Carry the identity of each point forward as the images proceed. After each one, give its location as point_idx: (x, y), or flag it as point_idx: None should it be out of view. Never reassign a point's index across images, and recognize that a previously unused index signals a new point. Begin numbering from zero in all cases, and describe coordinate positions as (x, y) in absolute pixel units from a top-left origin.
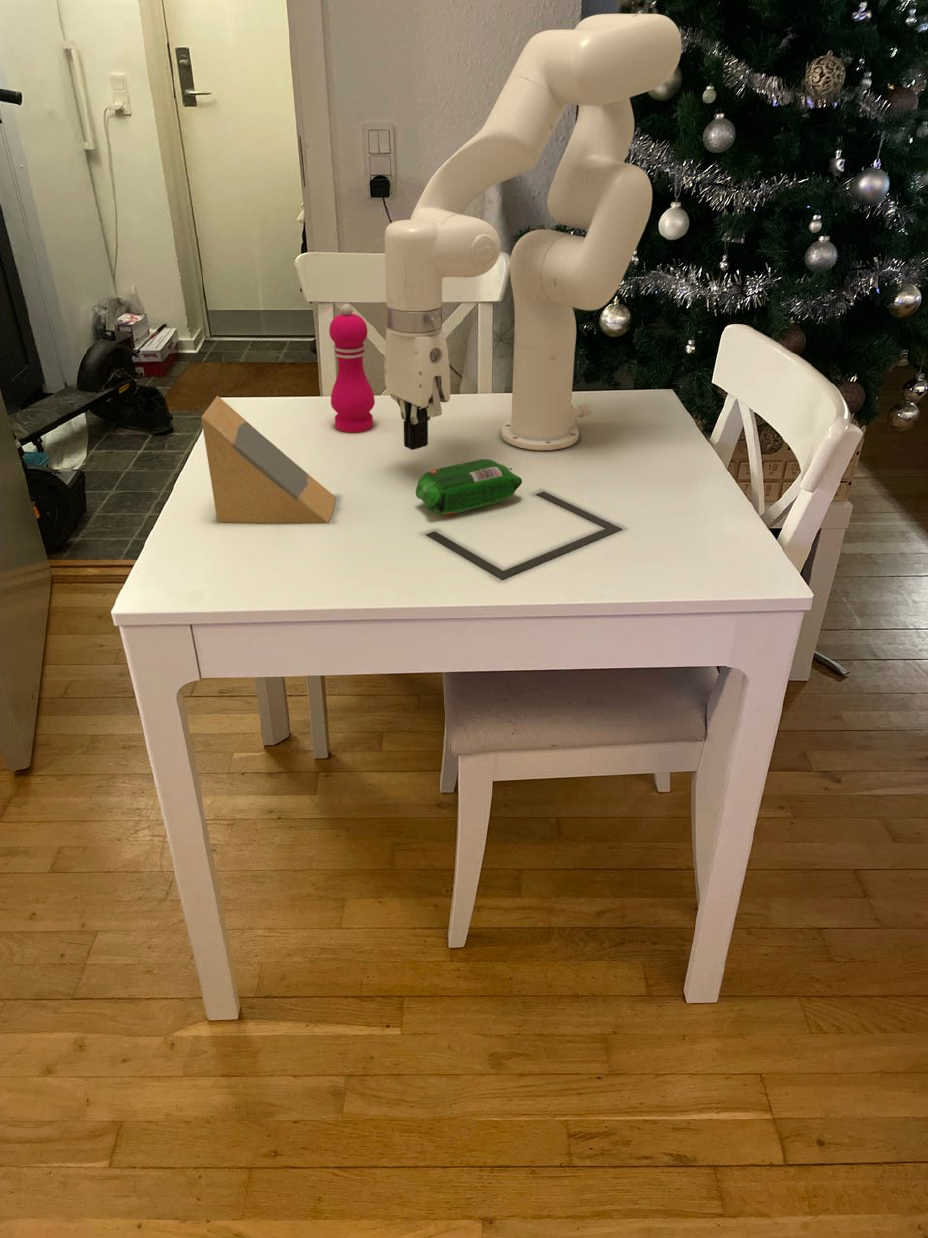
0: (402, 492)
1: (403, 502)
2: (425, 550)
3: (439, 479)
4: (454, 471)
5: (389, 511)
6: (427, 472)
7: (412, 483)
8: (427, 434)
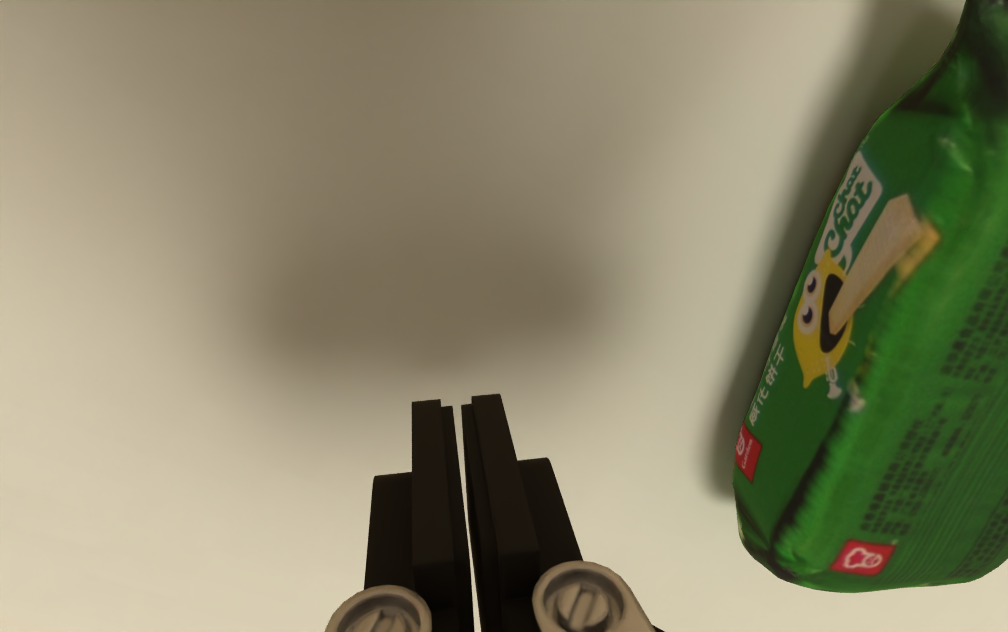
0: (559, 479)
1: (643, 516)
2: (960, 599)
3: (947, 572)
4: (963, 474)
5: (667, 584)
6: (828, 573)
7: (504, 401)
8: (512, 444)
